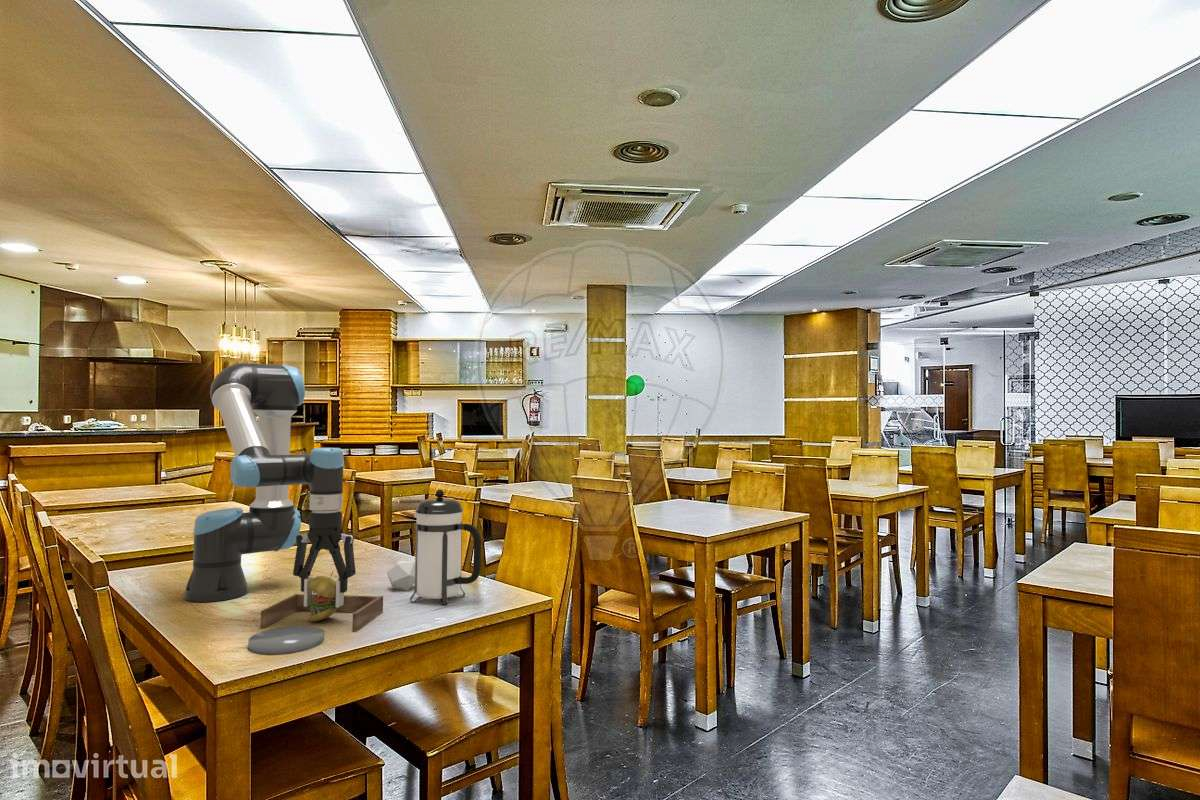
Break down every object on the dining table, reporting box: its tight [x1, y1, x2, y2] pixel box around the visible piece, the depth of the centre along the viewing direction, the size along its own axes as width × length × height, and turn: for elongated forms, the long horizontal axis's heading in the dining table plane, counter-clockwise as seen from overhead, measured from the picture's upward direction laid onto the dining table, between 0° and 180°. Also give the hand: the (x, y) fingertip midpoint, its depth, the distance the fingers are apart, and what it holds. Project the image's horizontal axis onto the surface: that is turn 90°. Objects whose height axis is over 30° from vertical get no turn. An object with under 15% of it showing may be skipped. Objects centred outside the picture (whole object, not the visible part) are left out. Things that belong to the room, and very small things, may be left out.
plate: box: [247, 625, 325, 655], centre depth 149 cm, size 15×15×2 cm
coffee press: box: [409, 489, 482, 607], centre depth 187 cm, size 17×16×30 cm
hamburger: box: [307, 571, 337, 622], centre depth 166 cm, size 8×7×12 cm
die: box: [386, 560, 415, 591], centre depth 198 cm, size 8×9×10 cm
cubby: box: [259, 593, 384, 632], centre depth 166 cm, size 23×16×4 cm
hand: (323, 605), depth 166 cm, fingers closed on hamburger, 7 cm apart
